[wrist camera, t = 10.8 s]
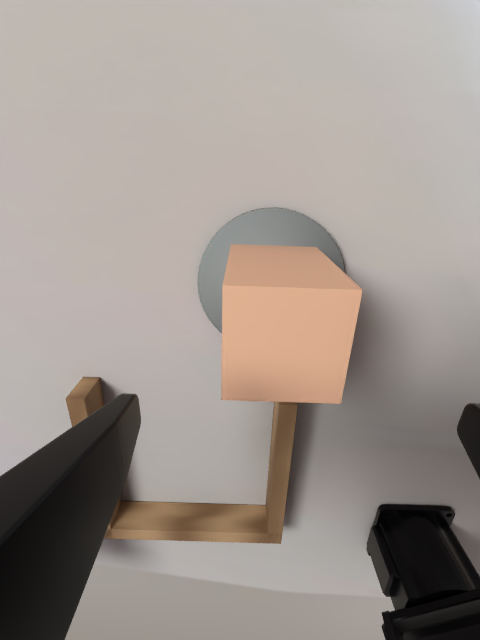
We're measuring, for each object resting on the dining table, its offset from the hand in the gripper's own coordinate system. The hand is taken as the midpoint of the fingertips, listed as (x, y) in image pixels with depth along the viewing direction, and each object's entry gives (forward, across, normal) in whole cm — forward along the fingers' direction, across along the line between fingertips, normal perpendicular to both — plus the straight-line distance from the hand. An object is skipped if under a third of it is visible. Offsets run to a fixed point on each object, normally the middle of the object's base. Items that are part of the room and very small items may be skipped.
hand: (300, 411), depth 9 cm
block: (+12, 0, 0) cm, 12 cm away
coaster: (+12, 0, 0) cm, 13 cm away
